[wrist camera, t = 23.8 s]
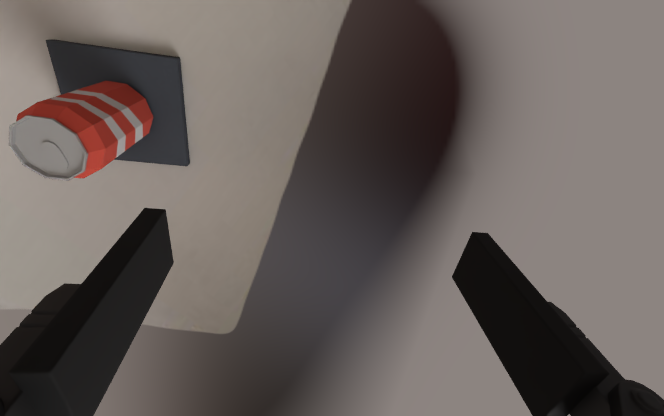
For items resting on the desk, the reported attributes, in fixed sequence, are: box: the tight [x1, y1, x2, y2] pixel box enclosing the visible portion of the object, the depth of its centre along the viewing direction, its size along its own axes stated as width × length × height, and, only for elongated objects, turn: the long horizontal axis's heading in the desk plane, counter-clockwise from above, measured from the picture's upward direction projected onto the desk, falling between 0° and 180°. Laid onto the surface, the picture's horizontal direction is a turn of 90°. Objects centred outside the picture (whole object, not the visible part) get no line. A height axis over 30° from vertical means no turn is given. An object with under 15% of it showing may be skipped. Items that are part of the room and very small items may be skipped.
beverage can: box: [9, 81, 153, 181], centre depth 29 cm, size 6×6×12 cm
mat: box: [46, 39, 190, 166], centre depth 34 cm, size 12×12×1 cm
